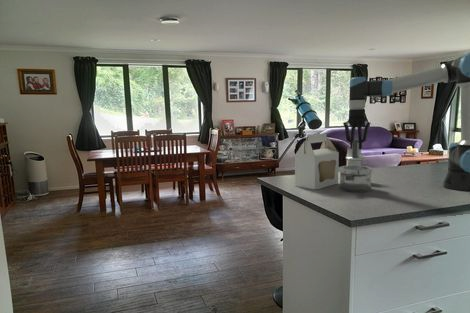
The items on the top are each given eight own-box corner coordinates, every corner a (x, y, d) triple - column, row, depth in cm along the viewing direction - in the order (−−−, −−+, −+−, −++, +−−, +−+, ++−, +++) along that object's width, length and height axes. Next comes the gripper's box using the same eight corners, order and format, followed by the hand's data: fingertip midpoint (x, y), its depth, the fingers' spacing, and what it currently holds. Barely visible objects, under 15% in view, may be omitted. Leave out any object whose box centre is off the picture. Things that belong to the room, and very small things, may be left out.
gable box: (318, 180, 201) (319, 132, 197) (338, 183, 191) (339, 133, 188) (294, 186, 187) (294, 135, 183) (314, 190, 177) (314, 135, 173)
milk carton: (361, 182, 191) (361, 148, 189) (347, 182, 193) (348, 148, 190) (359, 180, 198) (359, 147, 196) (346, 179, 200) (346, 147, 197)
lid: (368, 158, 176) (368, 138, 175) (363, 161, 168) (364, 140, 166) (348, 157, 181) (349, 138, 180) (343, 160, 173) (343, 140, 172)
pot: (375, 187, 179) (375, 166, 177) (365, 196, 161) (365, 173, 160) (344, 184, 187) (344, 164, 186) (331, 192, 170) (331, 170, 168)
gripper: (374, 108, 170) (372, 155, 173) (344, 109, 178) (343, 153, 181) (370, 108, 164) (369, 157, 167) (340, 109, 172) (339, 155, 175)
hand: (355, 155), depth 174 cm, fingers closed on lid, 2 cm apart
